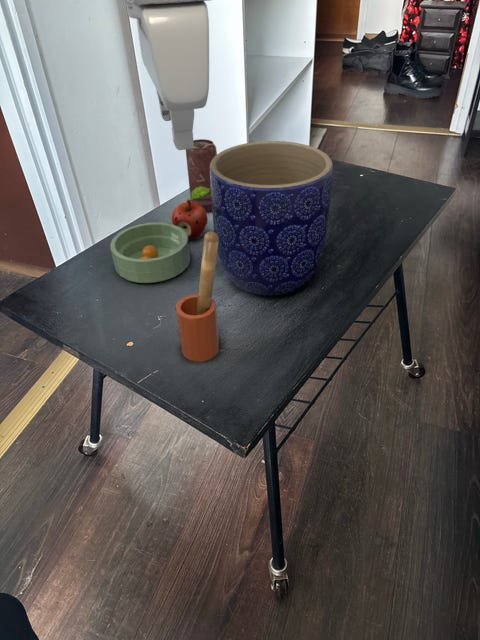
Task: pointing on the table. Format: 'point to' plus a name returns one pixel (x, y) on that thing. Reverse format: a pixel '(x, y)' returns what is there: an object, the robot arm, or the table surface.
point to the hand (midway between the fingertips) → (176, 132)
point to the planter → (270, 213)
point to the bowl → (164, 267)
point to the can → (200, 169)
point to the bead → (150, 251)
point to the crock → (197, 329)
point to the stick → (207, 272)
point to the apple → (191, 214)
